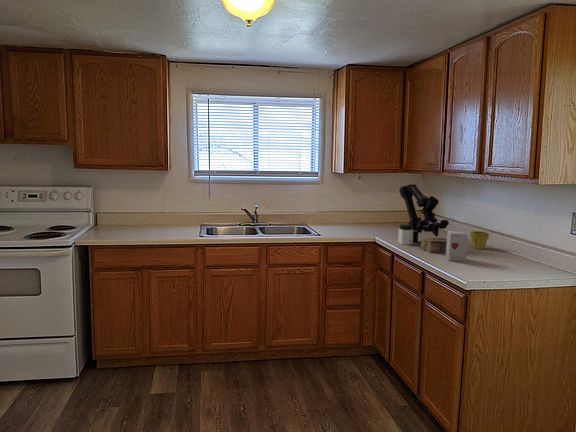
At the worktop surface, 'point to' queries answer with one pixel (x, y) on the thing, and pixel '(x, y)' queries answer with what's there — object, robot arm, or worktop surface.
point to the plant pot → (479, 239)
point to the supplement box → (456, 246)
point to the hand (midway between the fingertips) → (437, 236)
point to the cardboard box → (433, 246)
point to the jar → (405, 234)
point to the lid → (435, 239)
